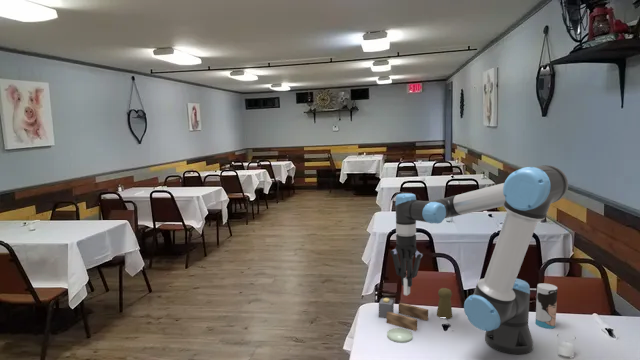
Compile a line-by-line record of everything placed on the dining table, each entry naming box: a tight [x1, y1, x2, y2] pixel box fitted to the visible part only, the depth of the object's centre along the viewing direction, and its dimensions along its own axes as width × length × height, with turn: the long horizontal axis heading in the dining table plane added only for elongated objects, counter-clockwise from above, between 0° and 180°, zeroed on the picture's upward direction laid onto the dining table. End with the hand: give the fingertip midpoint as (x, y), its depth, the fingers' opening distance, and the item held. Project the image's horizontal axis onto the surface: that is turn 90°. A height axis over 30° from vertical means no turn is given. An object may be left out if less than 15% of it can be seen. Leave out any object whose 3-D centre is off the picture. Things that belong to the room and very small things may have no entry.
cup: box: [534, 283, 558, 330], centre depth 160 cm, size 7×7×15 cm
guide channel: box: [386, 302, 429, 332], centre depth 165 cm, size 12×12×4 cm
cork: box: [436, 287, 453, 320], centre depth 169 cm, size 6×6×11 cm
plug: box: [378, 297, 395, 320], centre depth 170 cm, size 5×5×7 cm
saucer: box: [386, 327, 414, 344], centre depth 153 cm, size 9×9×1 cm
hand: (406, 294), depth 164 cm, fingers closed
